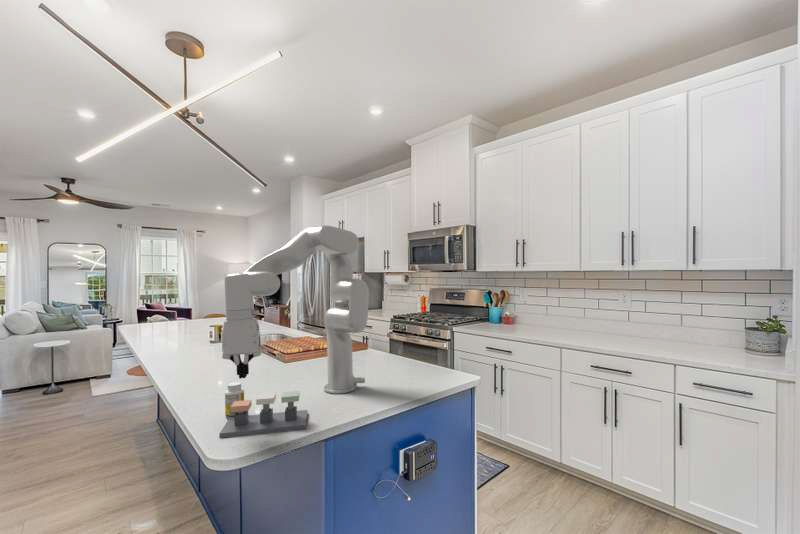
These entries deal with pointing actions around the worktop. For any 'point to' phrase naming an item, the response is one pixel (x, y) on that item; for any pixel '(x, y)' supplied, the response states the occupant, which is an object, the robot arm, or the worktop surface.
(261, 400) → the key mid
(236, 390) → the supplement bottle
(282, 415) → the keypad board
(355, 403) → the worktop surface
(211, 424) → the worktop surface
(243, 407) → the key
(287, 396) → the green key
